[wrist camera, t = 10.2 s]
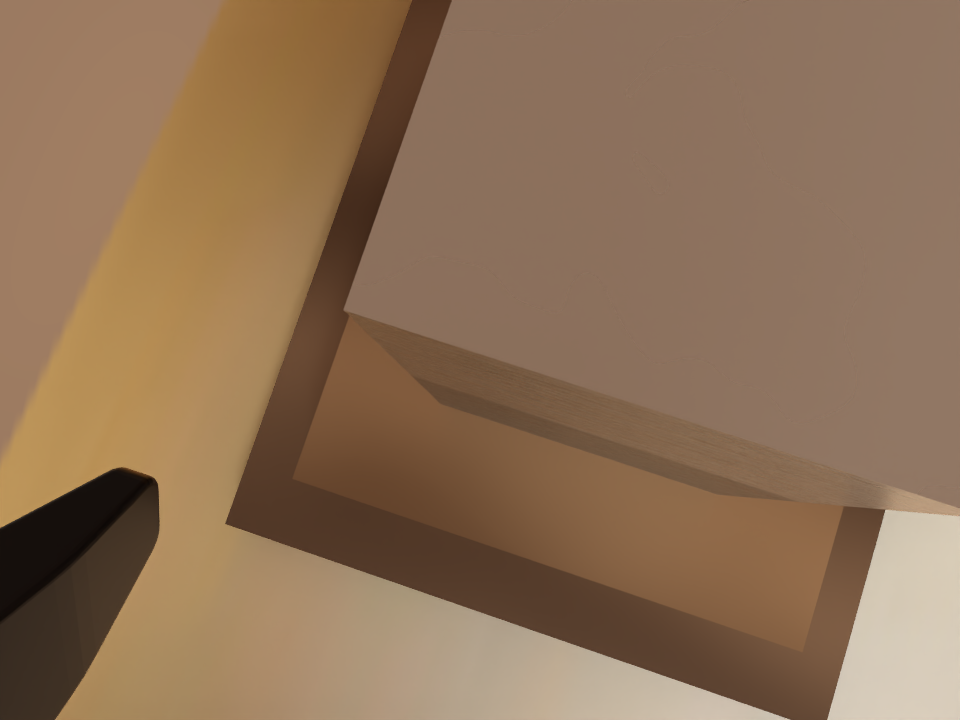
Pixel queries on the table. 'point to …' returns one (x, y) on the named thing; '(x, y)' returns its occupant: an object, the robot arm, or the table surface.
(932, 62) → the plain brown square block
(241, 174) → the table surface
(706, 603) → the walnut stand
